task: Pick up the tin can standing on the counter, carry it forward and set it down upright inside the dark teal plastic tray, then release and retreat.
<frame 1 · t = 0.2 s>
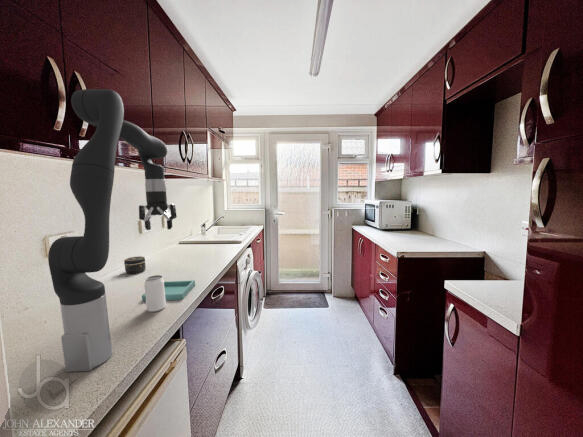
hand: (159, 229, 110), 28 cm above the table, fingers open, 8 cm apart
tray: (170, 292, 115), on the table
jar: (135, 272, 146), on the table
can: (156, 308, 100), on the table
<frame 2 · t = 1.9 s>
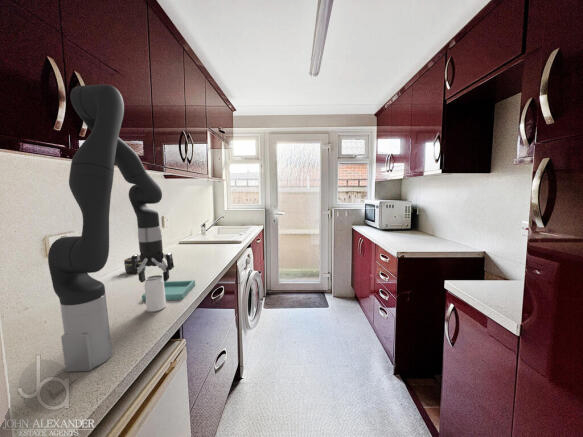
hand: (154, 281, 99), 11 cm above the table, fingers open, 8 cm apart
nothing on the table moved.
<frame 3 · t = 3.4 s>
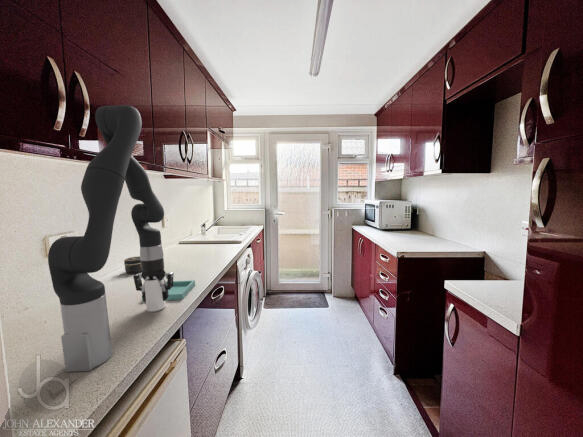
hand: (156, 300, 99), 3 cm above the table, fingers closed on can, 6 cm apart
can: (156, 308, 100), on the table, touching gripper
everything else where it was.
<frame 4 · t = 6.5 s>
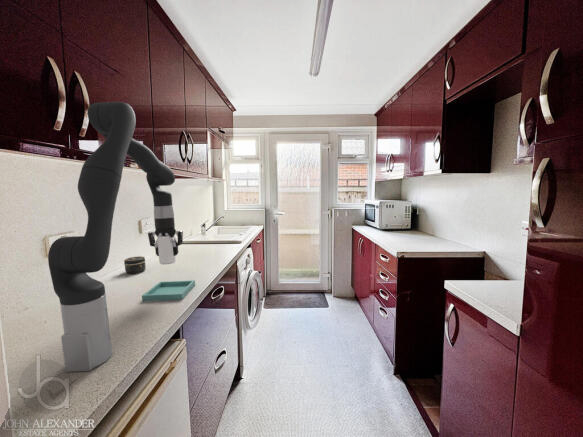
hand: (167, 255, 113), 17 cm above the table, fingers closed on can, 6 cm apart
can: (167, 263, 113), point 13 cm above the table, touching gripper
everything else where it was.
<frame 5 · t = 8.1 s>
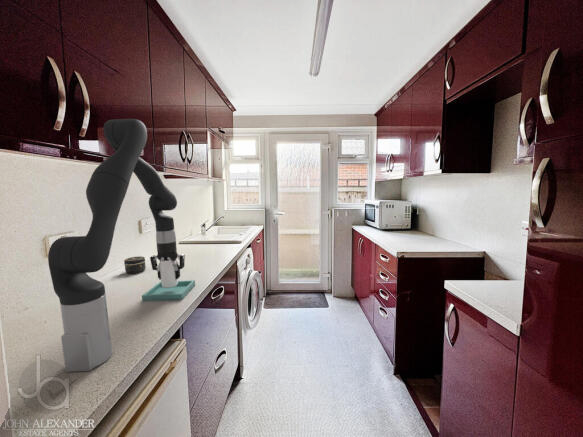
hand: (169, 278, 114), 6 cm above the table, fingers closed on can, 6 cm apart
can: (170, 286, 114), point 3 cm above the table, touching gripper
everything else where it was.
when the fingers open (5 cm above the table, at t = 9.4 s): can drops 1 cm, resting on tray.
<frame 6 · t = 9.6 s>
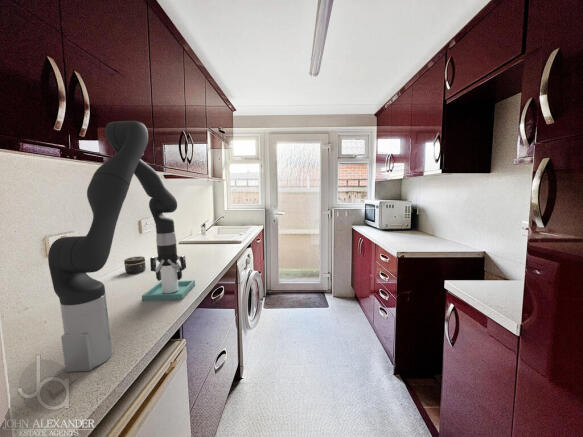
hand: (169, 279, 114), 6 cm above the table, fingers open, 8 cm apart
can: (170, 291, 114), point 1 cm above the table, touching tray
everything else where it was.
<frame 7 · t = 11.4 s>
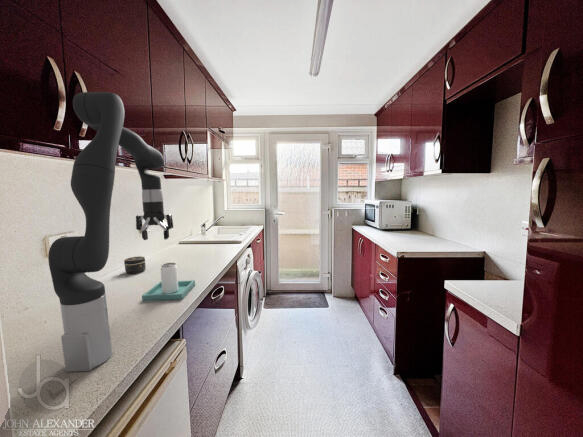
hand: (156, 239, 110), 24 cm above the table, fingers open, 8 cm apart
nothing on the table moved.
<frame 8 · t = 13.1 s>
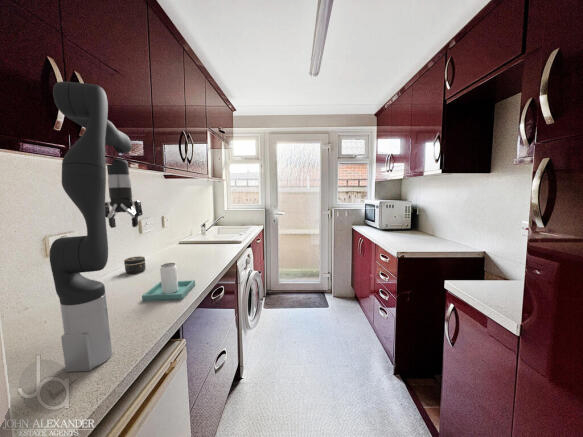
hand: (124, 227, 106), 30 cm above the table, fingers open, 8 cm apart
nothing on the table moved.
at the end: can inside the target area on the tray (0.2 cm from its centre), point 0.4 cm above the tray's base; can tilted 0°; the gripper is holding nothing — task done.
